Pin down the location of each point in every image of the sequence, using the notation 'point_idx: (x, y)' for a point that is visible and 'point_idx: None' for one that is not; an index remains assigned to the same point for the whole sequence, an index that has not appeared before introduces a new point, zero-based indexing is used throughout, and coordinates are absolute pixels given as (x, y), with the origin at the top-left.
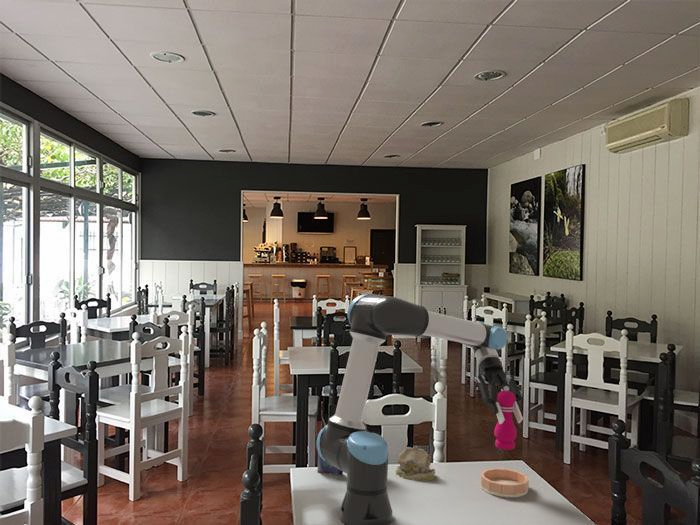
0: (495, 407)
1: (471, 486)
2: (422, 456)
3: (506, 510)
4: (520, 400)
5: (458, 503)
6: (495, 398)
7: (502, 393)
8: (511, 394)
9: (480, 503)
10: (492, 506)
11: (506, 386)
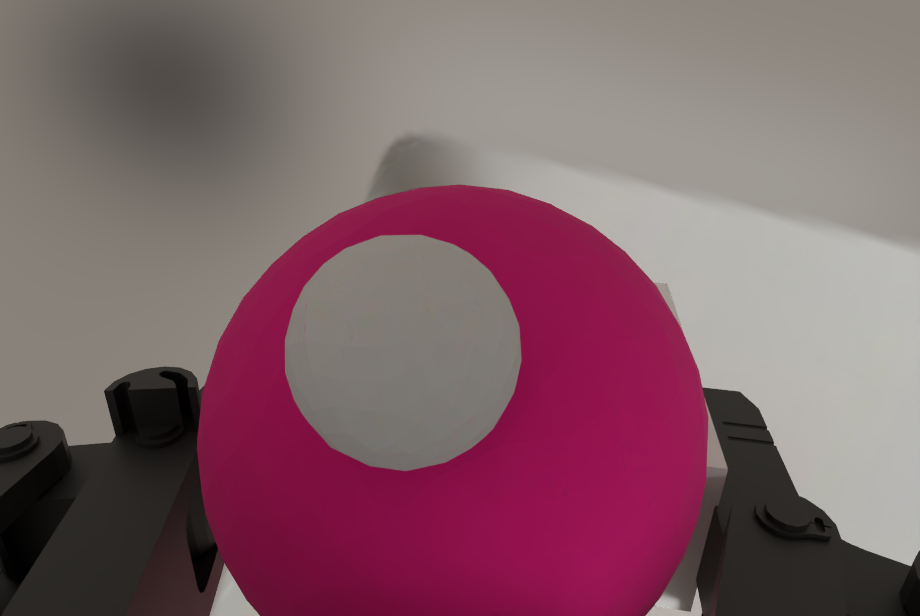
0: (735, 443)
1: (689, 612)
2: None
3: (661, 274)
4: (77, 445)
5: (876, 413)
6: (725, 560)
7: (634, 323)
8: (401, 196)
9: (751, 378)
10: (706, 330)
11: (406, 281)
